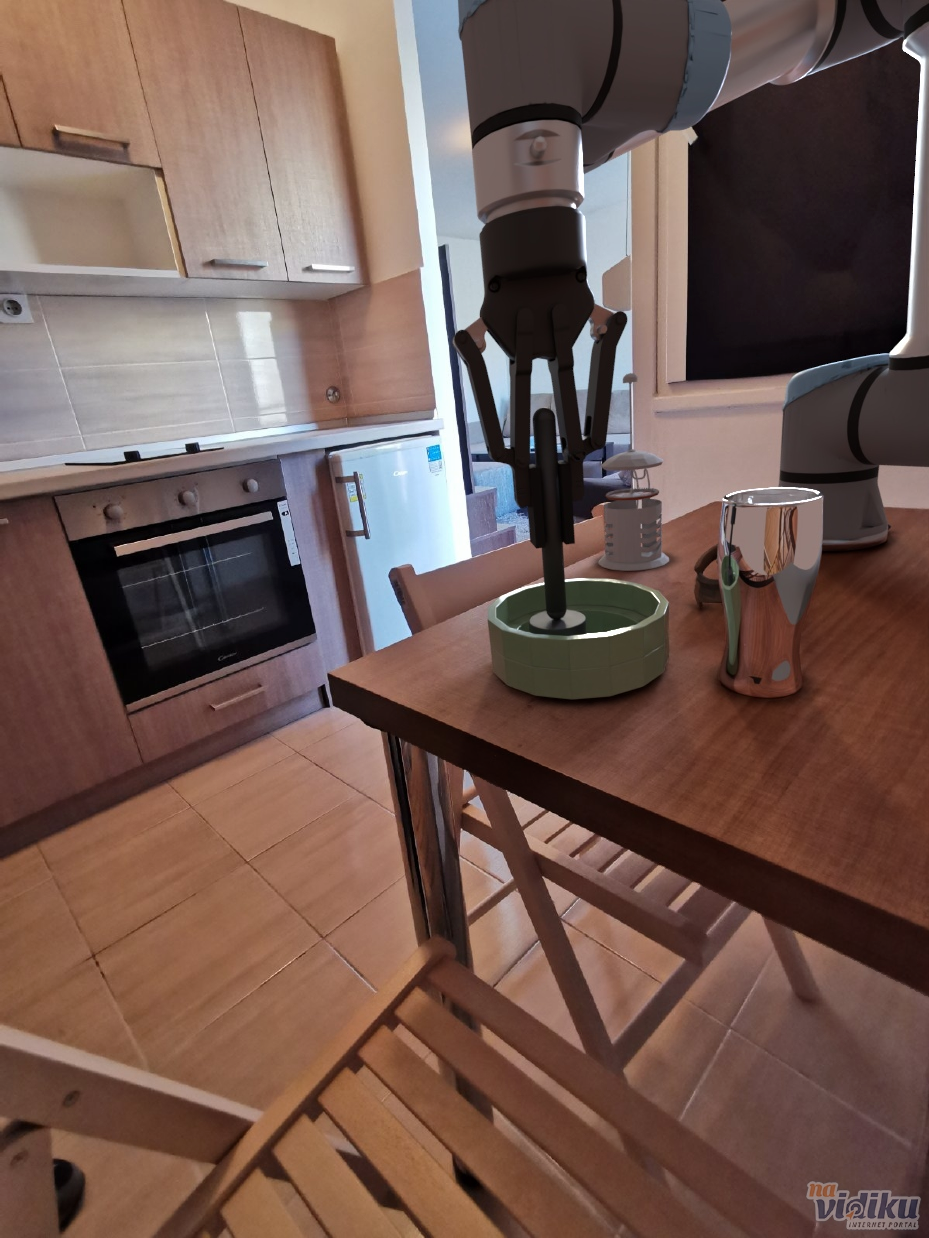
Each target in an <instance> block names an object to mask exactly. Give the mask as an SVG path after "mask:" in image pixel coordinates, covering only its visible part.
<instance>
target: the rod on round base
mask: <svg viewBox="0 0 929 1238" xmlns="http://www.w3.org/2000/svg"><path fill="white" fill-rule="evenodd" d="M555 414H556V413H555V412H554V411H553V409H551V408H549V407H546V406H543V407H540V408H537V409H536V411H534V413H533V415H532V431H533V432H532V433H533V443H534V444H533V445H534V458H535V459H534V461H535V465H536V466H539V467H540V477H541V491H542V506H543V520H544V535H545V548H541V558H542V560H541V561H542V571H543V572H542V573H543V583H544V588H545V602H546V611H544V612H541V613H538V614H536V615H534V616H532V617H531V618H530V619H529V630H530V633H533V634H542V635H558V636H574V635H585V634H586V618H585V616H584V615H583V614H582V613H580V612H577V611H573V610H567V606H566V589H565V580H566V575H565V573H566V572H565V558H564V543H563V538H562V521H561V504H560V487H559V470H558V461H559V457H558V456H559V454H558V437H557V422H556V421H557V417H556V415H555Z"/></svg>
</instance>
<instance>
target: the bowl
mask: <svg viewBox="0 0 929 1238" xmlns="http://www.w3.org/2000/svg"><path fill="white" fill-rule="evenodd" d="M565 589H566V606H567V610H573V611H577V612H580V613H582V614H583V615H584V616H585V618H586V634H585V635H574V636H558V635H542V634H533V633H530V630H529V619H530V618H531V617H532V616H534V615H536V614H538V613H541V612H544V611H546V602H545V588H544V582H539V583H536V584H531V585H526V586H523V587H519V588H518V589H514V590H512V591H510V592H508V593H505V594H502V595H500V596H499V597H498V598H497V599H496V600H494V601H493V602H492V603H491V604H490V605H489V606H488V607H487V627H488V628H487V629H488V635H489V645H490V654H491V655H490V656H491V663H492V672H493V674H495V675H496V677H498V678H499V679H500V680H501V681H502V682H503V683H504V684H505V685H506V686H508V687H510V688H513V689H515V690H519V691H522V692H524V693H527V694H529V695H533V696H537V697H546V698H556V699H563V700H582V699H584V700H585V699H595V698H607V697H613V696H615V695H619V694H623V693H627V692H629V691H632V690H636V689H640V688H643V687H645V686H646V685H648V684H649V683H650V682H652V681H653V680H655V679H657V678H658V677H660V675H662V674H663V673H664V672H665V671H666V668H667V664H668V661H669V657H670V602H669V601H668V599H667V598H666V597H665V596H664V595H663V594H662V593H661V592H660V590H657V589H656V588H652V587H649V586H646V585H644V584H641V583H639V582H633V581H627V580H621V579H614V578H595V577H594V578H591V577H590V578H589V577H584V578H583V577H581V578H580V577H578V578H569V579H565Z"/></svg>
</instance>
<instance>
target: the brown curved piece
mask: <svg viewBox="0 0 929 1238" xmlns="http://www.w3.org/2000/svg"><path fill="white" fill-rule="evenodd" d="M717 550H718V543H716V544H715V545H712V546H711V547H710V548H708V549H707V550H706V551H705V552H704V553H703V554H702V555H700V557H699V558H698V559H697V561H696V562H695V565H694V569H693V571H694V572H695V573H696V576H695V579H694V580H695V583H694V588H693V593H694V598H695V602H696V604H697V606H698V608H699V609H702V608H703V606H704V604H715V605H717V604H720V605H722V601H721V594H720V588H719V579H715V578H709V577H706V576H705V575H704V572H705V570H706V569H707V568H708V567H709V565H710V564H712V563H713V562H715V561H717Z"/></svg>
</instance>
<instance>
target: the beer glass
mask: <svg viewBox="0 0 929 1238" xmlns="http://www.w3.org/2000/svg"><path fill="white" fill-rule="evenodd" d="M823 497H824V494H823V493H821V492H819V491H816V490H810V489H801V488H778V487H768V488H767V487H766V488H765V487H763V488H754V489H745V490H739V491H735V492H731V493H727V494H725V495H724V496H723V497H722V503H721V504H722V505H721V512H720V519H719V526H718V527H719V528H718V536H717V537H718V539H717V544H718V550H717V559H716V564H717V565H716V566H717V567H716V568H717V577H718V579H719V588H720V594H721V601H722V604H721V607H722V612H723V613H722V614H723V619H724V626H725V644H724V650H723V655H722V658H721V663H720V666H719V671H718V680H719V682H720V683H721V684H722V685H723V686H724V687H726V688H727V689H729V690H730V691H733V692H734V693H738V694H740V695H745V696H748V697H754V698H765V699H766V698H767V699H768V698H769V699H770V698H771V699H772V698H773V699H774V698H781V697H787V696H790V695H793V694H795V693H797V692H798V691H800V689H802V686H803V669H802V664H801V639H802V634H803V630H804V626H805V622H806V619H807V615H808V613H809V609H810V606H811V602H812V599H813V596H814V594H815V593H814V592H815V589H816V587H817V581H818V578H819V573H820V569H821V561H822V554H823V551H822V542H823Z"/></svg>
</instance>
